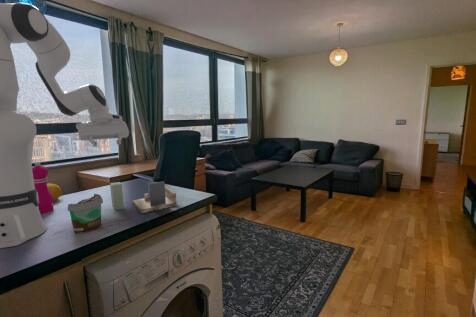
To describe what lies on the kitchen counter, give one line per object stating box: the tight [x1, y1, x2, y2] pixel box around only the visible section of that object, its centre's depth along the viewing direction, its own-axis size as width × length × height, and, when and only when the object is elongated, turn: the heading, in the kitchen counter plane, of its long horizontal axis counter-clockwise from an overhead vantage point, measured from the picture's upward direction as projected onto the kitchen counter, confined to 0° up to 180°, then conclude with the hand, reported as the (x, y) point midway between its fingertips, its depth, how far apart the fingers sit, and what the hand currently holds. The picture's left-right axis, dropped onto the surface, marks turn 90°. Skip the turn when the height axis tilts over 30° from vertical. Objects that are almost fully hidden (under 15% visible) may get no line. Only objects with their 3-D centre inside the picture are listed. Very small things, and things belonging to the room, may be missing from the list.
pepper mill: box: [32, 161, 55, 215], centre depth 106 cm, size 7×7×20 cm
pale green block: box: [109, 181, 125, 211], centre depth 110 cm, size 4×5×10 cm
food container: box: [67, 193, 104, 234], centre depth 90 cm, size 12×6×10 cm, turn 168°
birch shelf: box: [132, 186, 177, 214], centre depth 113 cm, size 14×14×6 cm
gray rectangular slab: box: [148, 181, 166, 206], centre depth 108 cm, size 6×1×9 cm, turn 124°
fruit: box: [47, 182, 62, 202], centre depth 120 cm, size 9×8×8 cm
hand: (107, 144), depth 117 cm, fingers open, 8 cm apart
